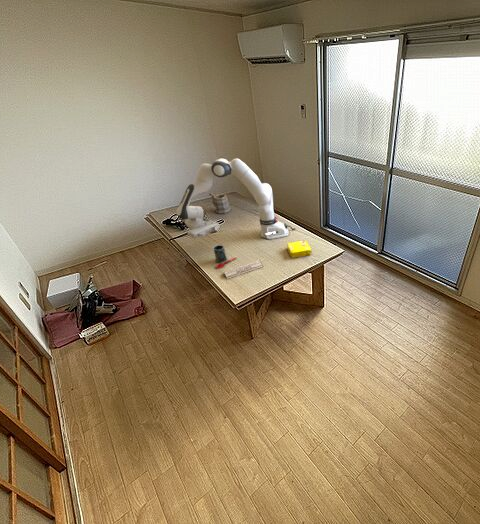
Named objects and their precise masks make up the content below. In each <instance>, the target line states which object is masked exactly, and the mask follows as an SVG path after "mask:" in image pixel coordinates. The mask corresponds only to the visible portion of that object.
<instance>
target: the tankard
mask: <svg viewBox="0 0 480 524" xmlns="http://www.w3.org/2000/svg"><path fill="white" fill-rule="evenodd" d="M208 195H209V196H210V197H211V198H212V204H213V206H214V207H215V213H217V214H226V213H229V212H231V207H230V204H229V202H228V200H229V199H228V197H227V195H226V194H216V195H215V194H213V193H212V192H210V193H209V194H208Z"/></svg>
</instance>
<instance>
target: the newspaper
mask: <svg viewBox="0 0 480 524" xmlns="http://www.w3.org/2000/svg"><path fill="white" fill-rule="evenodd" d="M261 268H263V265H262V263H261V262H260V260H255V261H253V262H250V263H248V264H244V265H241V266H238V267H234V268H231V269H228V270H226V271H223V275H224V276H225V277H226V279H227V280H228V279H232V278H234V277H237V276H240V275H243V274H246V273H249V272H252V271H255V270H257V269H261Z"/></svg>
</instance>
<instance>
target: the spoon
mask: <svg viewBox="0 0 480 524" xmlns="http://www.w3.org/2000/svg"><path fill="white" fill-rule="evenodd" d="M236 259H237V258H236V257H233V258H231V259H229V260H226V261H225V262H222V263H218V264H217V265H216V266H215V268H216V269H221V268H224V267H225V265H227V264H228V263H231V262H232V261H235V260H236Z"/></svg>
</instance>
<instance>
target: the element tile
mask: <svg viewBox="0 0 480 524" xmlns="http://www.w3.org/2000/svg"><path fill="white" fill-rule="evenodd" d="M286 249H287V252H288V254H289V256H290V258H291V259H295V258H301V257H306V256H310V255H312V248H311V246H310V245H309V242H308V241H307V240H305V239H302V240H297V241H291V242H288V243H287V244H286Z"/></svg>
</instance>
